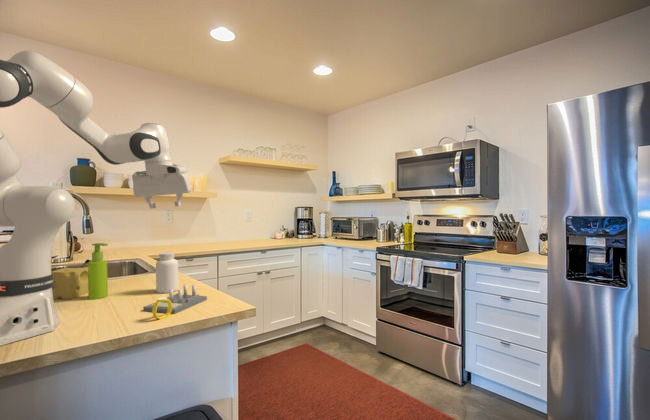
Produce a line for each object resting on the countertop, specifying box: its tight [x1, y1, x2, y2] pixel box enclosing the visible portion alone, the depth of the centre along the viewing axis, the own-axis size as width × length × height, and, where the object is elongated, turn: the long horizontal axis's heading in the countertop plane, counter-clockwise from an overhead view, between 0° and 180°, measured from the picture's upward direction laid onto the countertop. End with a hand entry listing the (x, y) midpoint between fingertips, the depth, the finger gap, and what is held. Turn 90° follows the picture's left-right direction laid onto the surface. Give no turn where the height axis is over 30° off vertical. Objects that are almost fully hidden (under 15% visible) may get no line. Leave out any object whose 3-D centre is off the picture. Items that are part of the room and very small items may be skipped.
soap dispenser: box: [87, 242, 109, 300], centre depth 123 cm, size 6×7×20 cm
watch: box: [151, 296, 172, 320], centre depth 100 cm, size 6×3×6 cm, turn 157°
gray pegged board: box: [143, 284, 208, 315], centre depth 113 cm, size 16×12×5 cm
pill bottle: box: [155, 251, 179, 294], centre depth 132 cm, size 8×8×15 cm
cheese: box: [51, 267, 88, 300], centre depth 126 cm, size 10×11×10 cm
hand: (165, 207), depth 124 cm, fingers open, 8 cm apart
